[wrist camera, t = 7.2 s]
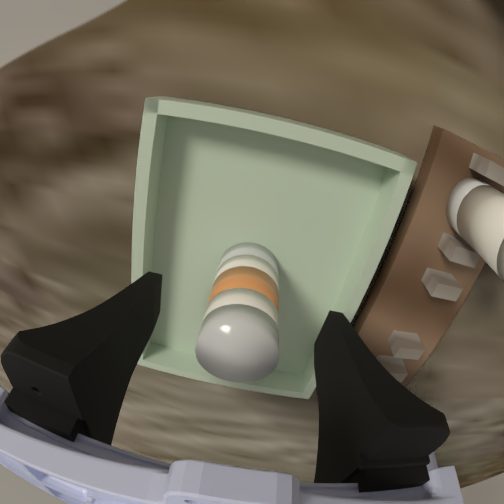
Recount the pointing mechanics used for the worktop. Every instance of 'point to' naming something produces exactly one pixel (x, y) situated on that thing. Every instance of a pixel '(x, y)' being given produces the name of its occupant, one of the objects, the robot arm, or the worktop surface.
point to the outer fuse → (479, 219)
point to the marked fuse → (242, 316)
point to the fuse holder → (426, 261)
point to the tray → (258, 224)
